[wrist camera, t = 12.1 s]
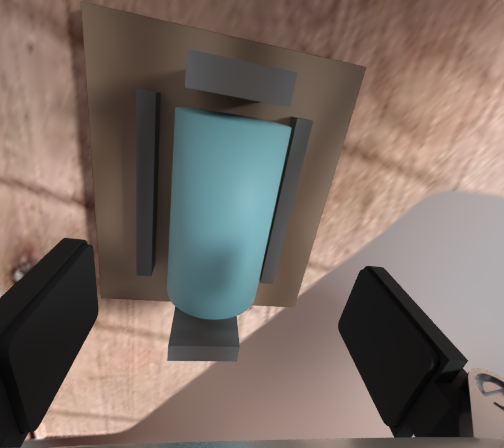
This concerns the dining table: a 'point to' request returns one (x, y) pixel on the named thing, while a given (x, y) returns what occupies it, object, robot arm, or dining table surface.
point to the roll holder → (162, 141)
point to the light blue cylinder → (221, 208)
